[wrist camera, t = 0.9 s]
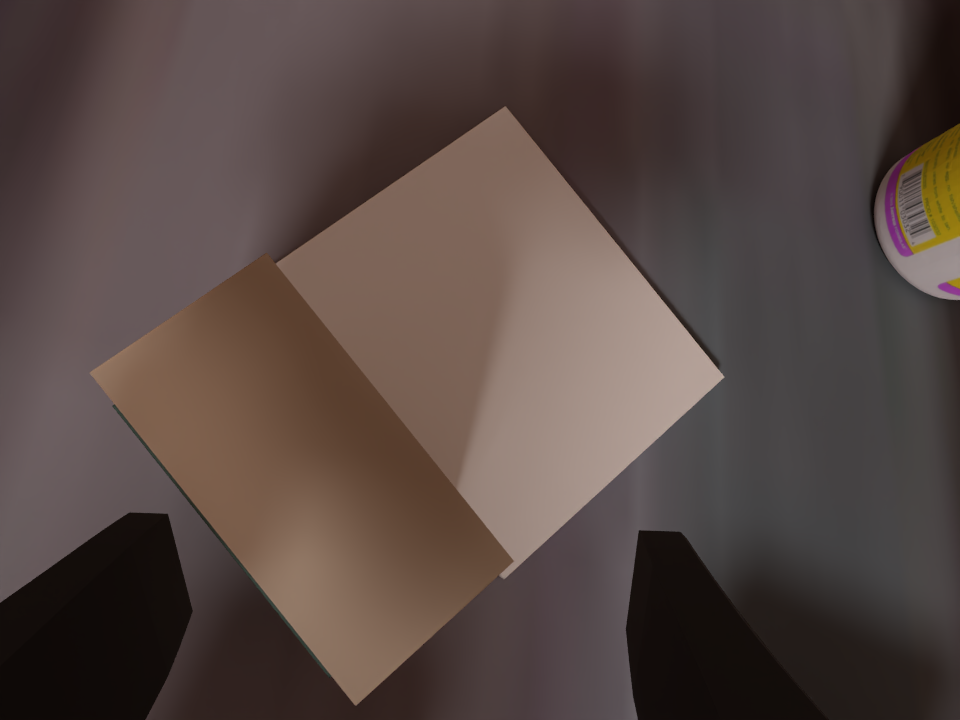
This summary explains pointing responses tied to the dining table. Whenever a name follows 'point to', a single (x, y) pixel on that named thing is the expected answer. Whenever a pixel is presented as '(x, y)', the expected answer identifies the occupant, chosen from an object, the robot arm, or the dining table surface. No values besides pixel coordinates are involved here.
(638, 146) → the dining table surface
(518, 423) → the beige mat
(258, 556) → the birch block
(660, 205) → the dining table surface
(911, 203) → the supplement bottle
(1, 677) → the robot arm
